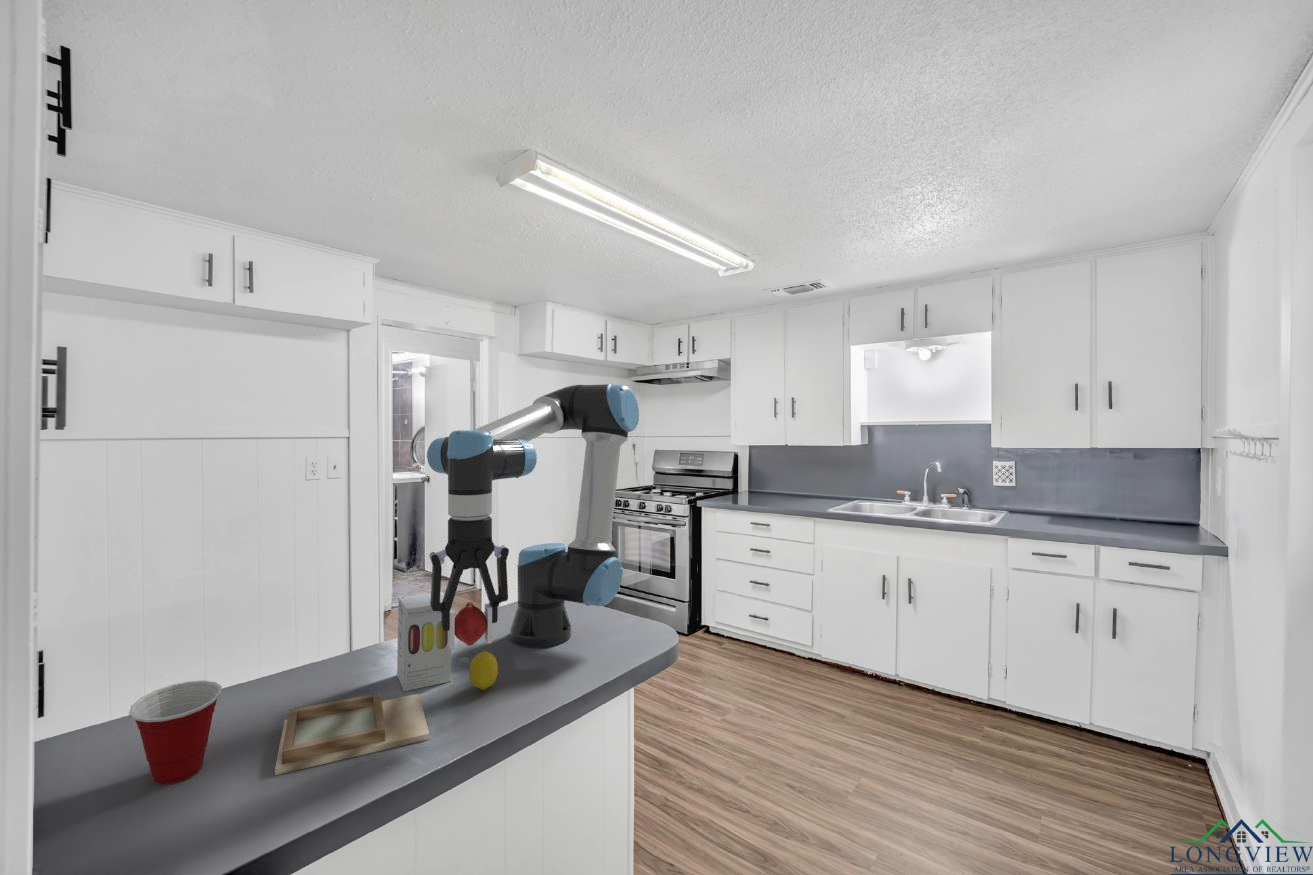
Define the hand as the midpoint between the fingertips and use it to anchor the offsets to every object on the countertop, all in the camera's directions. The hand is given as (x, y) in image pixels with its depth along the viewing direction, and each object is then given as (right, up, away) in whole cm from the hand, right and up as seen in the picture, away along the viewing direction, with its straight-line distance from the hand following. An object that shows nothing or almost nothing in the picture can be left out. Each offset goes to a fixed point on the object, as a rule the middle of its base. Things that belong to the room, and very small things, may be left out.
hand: (469, 643), depth 104 cm
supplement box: (-15, -14, +17) cm, 27 cm away
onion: (0, -1, 0) cm, 1 cm away
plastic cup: (-39, -14, -16) cm, 45 cm away
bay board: (-19, -14, -4) cm, 24 cm away
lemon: (-1, -14, +12) cm, 19 cm away
